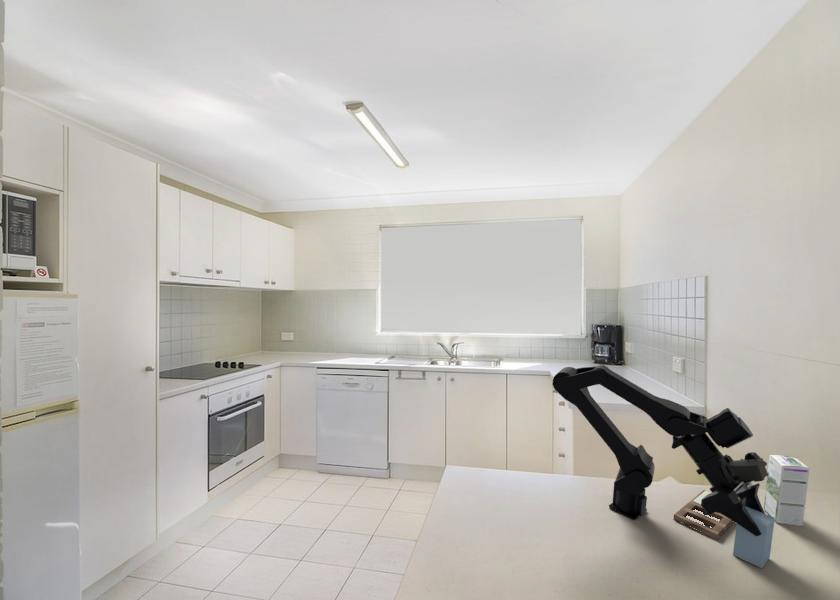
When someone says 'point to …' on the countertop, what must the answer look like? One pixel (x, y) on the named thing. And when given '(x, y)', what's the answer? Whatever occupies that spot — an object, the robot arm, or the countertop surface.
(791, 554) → the countertop surface
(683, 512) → the board
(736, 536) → the blue block
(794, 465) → the syrup box
